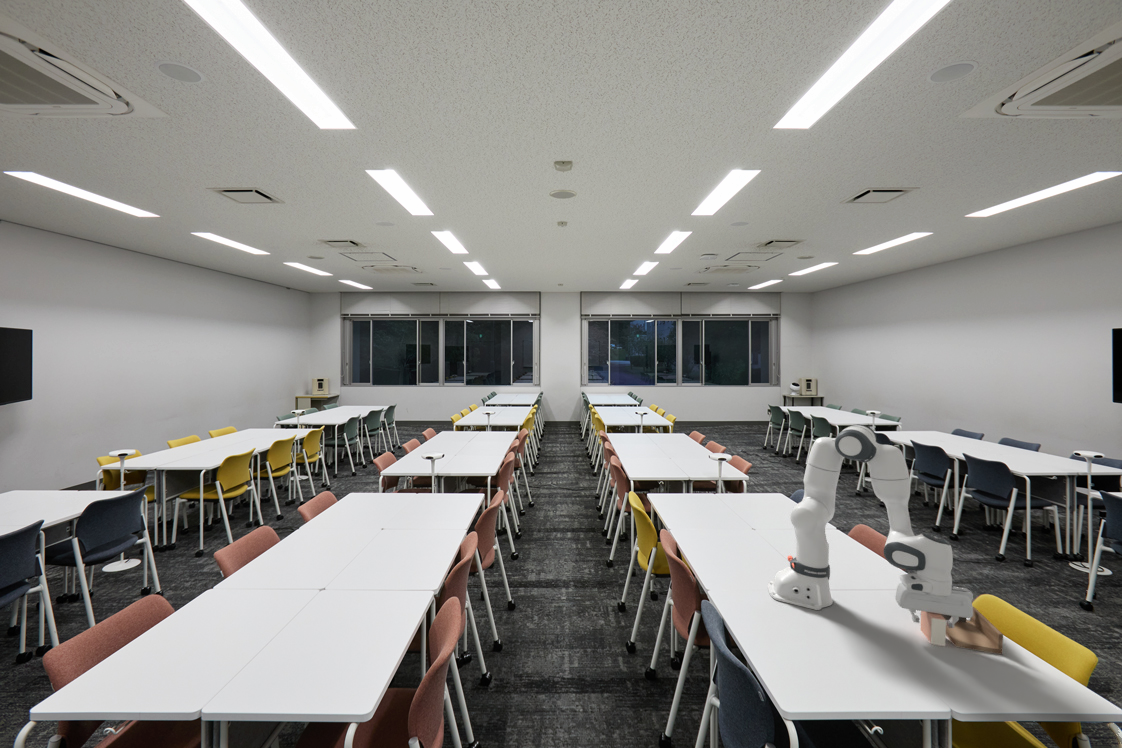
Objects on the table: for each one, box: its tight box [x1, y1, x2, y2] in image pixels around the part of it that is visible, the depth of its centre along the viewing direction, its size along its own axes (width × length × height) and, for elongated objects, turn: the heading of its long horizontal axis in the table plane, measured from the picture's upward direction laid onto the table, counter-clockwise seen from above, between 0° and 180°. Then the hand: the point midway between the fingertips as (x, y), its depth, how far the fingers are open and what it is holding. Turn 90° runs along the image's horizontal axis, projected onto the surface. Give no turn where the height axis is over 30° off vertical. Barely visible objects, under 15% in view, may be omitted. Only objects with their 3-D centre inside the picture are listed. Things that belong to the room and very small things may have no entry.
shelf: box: [945, 606, 1004, 655], centre depth 148 cm, size 12×16×6 cm
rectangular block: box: [920, 611, 947, 647], centre depth 147 cm, size 4×8×9 cm, turn 161°
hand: (932, 624), depth 147 cm, fingers open, 8 cm apart
